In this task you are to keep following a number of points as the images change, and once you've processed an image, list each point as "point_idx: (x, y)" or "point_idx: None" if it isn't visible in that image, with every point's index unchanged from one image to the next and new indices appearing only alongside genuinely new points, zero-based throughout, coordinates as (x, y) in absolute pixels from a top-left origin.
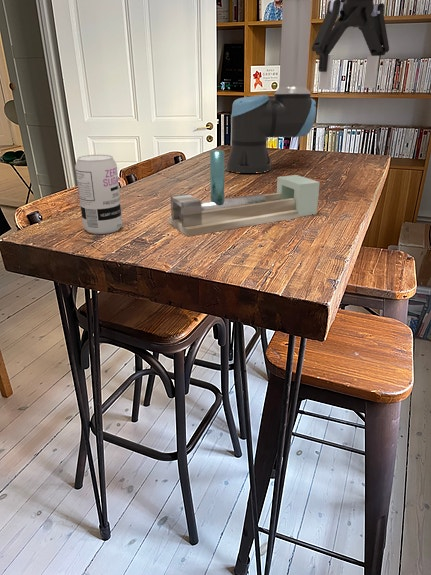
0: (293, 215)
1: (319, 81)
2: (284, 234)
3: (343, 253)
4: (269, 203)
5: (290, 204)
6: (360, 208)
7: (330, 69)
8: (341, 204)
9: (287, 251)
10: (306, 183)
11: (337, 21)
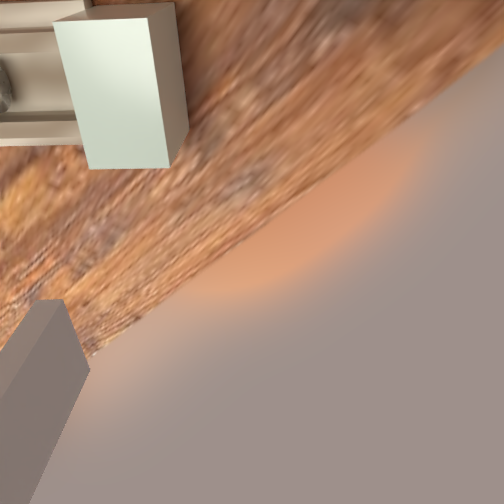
0: None
1: (10, 339)
2: (38, 224)
3: (107, 336)
4: (6, 138)
5: None
6: (347, 140)
7: (20, 493)
8: (330, 74)
9: (14, 294)
10: (116, 165)
11: None
